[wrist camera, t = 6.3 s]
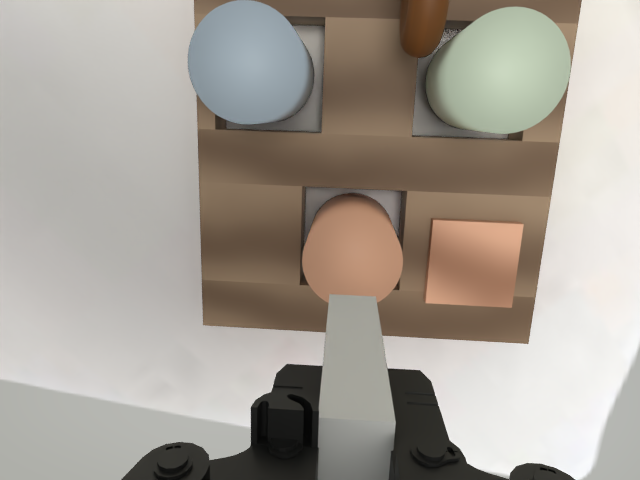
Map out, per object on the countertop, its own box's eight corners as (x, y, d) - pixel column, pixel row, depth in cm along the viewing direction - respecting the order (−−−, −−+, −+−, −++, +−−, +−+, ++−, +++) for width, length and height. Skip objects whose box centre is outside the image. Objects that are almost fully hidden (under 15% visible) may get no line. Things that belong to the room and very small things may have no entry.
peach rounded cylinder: (312, 191, 29) (303, 210, 24) (395, 195, 29) (406, 214, 23) (310, 269, 31) (300, 306, 25) (389, 274, 30) (399, 311, 25)
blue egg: (222, 24, 26) (185, -2, 20) (315, 27, 26) (305, 1, 20) (223, 120, 27) (189, 122, 21) (312, 124, 27) (302, 126, 21)
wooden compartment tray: (206, -16, 28) (189, -32, 25) (563, -8, 27) (590, -23, 24) (214, 309, 33) (200, 329, 30) (514, 326, 32) (531, 348, 29)
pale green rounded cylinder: (430, 30, 25) (453, 5, 20) (527, 32, 25) (580, 8, 19) (421, 127, 27) (441, 131, 21) (514, 131, 26) (560, 136, 21)
